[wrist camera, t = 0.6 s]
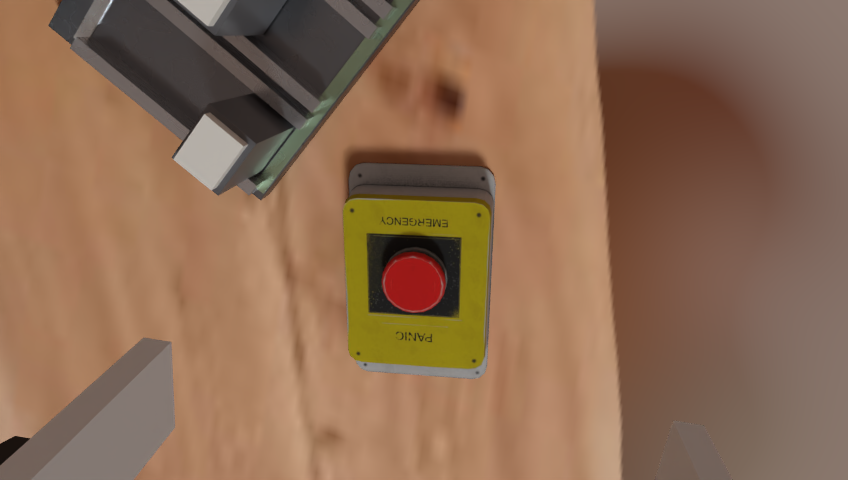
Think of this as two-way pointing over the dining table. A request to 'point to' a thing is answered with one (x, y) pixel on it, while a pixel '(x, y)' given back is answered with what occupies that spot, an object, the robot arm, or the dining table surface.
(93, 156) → the dining table surface
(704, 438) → the robot arm
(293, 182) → the dining table surface
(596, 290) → the dining table surface
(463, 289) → the emergency button
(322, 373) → the dining table surface
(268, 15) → the block
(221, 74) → the panel
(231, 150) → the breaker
